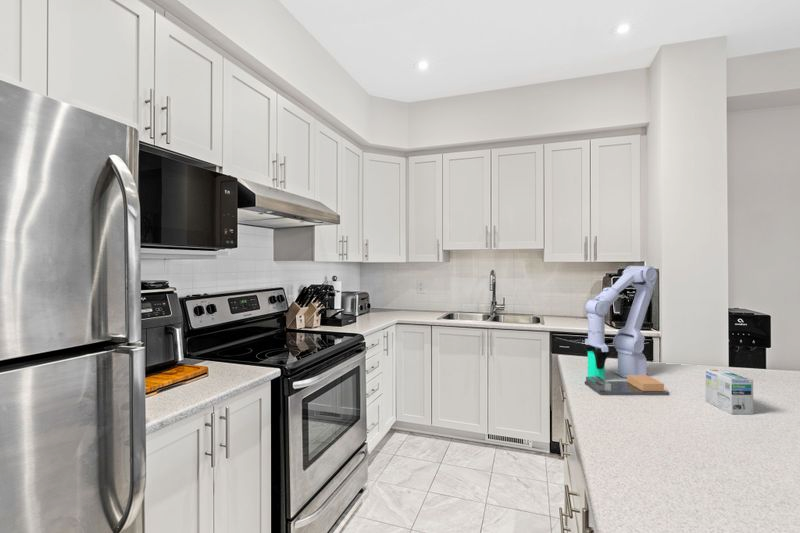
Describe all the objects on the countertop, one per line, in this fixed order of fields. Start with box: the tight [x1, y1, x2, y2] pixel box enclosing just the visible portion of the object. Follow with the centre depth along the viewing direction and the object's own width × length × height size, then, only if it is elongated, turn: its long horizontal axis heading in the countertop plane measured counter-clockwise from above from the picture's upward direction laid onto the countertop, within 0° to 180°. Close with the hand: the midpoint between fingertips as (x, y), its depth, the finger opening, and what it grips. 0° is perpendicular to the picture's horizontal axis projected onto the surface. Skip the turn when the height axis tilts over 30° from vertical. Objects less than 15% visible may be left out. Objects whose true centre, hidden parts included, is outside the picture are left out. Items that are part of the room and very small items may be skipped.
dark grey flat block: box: [584, 375, 670, 396], centre depth 140 cm, size 23×12×4 cm, turn 89°
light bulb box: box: [705, 368, 754, 415], centre depth 122 cm, size 11×7×11 cm, turn 179°
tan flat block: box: [626, 374, 665, 391], centre depth 140 cm, size 7×10×2 cm
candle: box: [587, 350, 606, 381], centre depth 152 cm, size 6×6×12 cm
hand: (596, 366), depth 152 cm, fingers closed on candle, 6 cm apart
